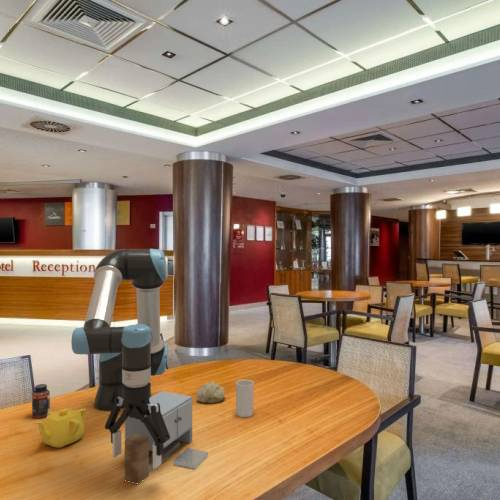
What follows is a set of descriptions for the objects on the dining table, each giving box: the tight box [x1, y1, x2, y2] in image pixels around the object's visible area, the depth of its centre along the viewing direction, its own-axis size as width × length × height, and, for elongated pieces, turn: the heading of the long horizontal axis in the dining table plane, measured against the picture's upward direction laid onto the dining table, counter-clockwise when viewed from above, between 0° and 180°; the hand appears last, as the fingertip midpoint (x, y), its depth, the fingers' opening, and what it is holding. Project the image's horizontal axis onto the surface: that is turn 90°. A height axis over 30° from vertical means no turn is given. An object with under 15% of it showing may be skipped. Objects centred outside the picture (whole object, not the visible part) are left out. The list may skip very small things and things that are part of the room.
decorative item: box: [196, 381, 226, 404], centre depth 171 cm, size 12×9×10 cm
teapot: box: [34, 408, 87, 449], centre depth 135 cm, size 14×13×10 cm
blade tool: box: [124, 434, 181, 485], centre depth 121 cm, size 4×22×11 cm, turn 158°
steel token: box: [173, 447, 209, 470], centre depth 123 cm, size 7×8×2 cm
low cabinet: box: [124, 390, 193, 452], centre depth 129 cm, size 13×18×14 cm
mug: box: [235, 379, 255, 418], centre depth 159 cm, size 10×7×12 cm, turn 23°
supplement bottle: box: [31, 383, 51, 419], centre depth 155 cm, size 6×6×11 cm
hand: (136, 460), depth 114 cm, fingers open, 13 cm apart
